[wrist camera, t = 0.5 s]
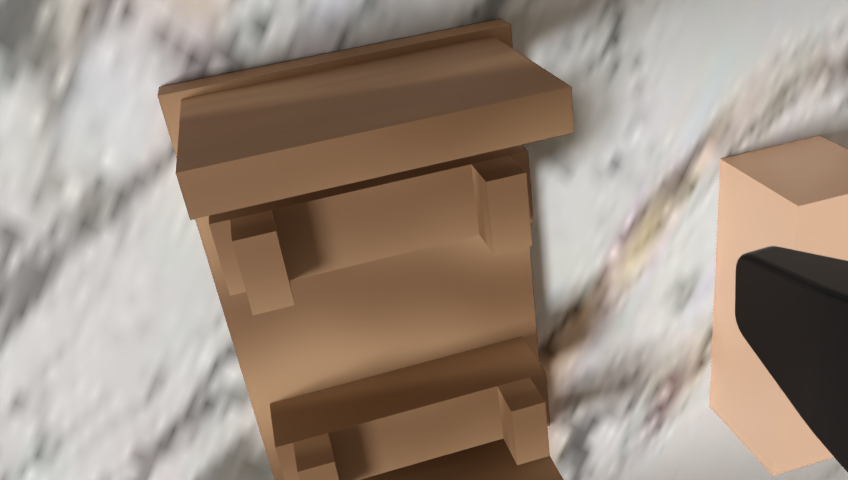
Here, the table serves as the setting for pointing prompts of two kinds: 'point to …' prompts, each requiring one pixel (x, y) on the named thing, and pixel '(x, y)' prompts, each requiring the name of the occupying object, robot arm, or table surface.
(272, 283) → the rack
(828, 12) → the table surface
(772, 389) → the tan rectangular block
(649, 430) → the table surface
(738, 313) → the robot arm
